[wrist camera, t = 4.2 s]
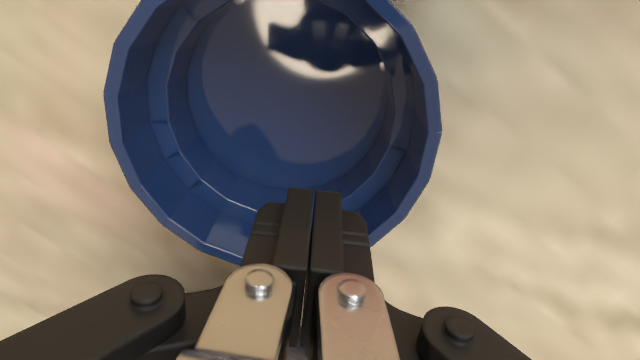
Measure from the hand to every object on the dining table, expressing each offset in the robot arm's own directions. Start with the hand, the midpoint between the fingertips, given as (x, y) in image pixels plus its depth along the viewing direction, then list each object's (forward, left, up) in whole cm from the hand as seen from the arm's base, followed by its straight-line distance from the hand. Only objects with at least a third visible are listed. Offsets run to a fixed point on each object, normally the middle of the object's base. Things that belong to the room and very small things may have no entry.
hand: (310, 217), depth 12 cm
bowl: (+2, +1, -13) cm, 13 cm away
